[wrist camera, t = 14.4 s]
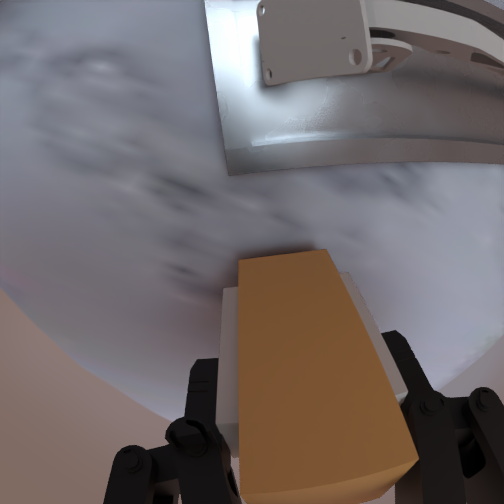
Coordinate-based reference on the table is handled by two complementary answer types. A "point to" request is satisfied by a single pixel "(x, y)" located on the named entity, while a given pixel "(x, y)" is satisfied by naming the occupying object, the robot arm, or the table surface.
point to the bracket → (364, 37)
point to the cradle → (354, 102)
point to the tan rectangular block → (312, 389)
